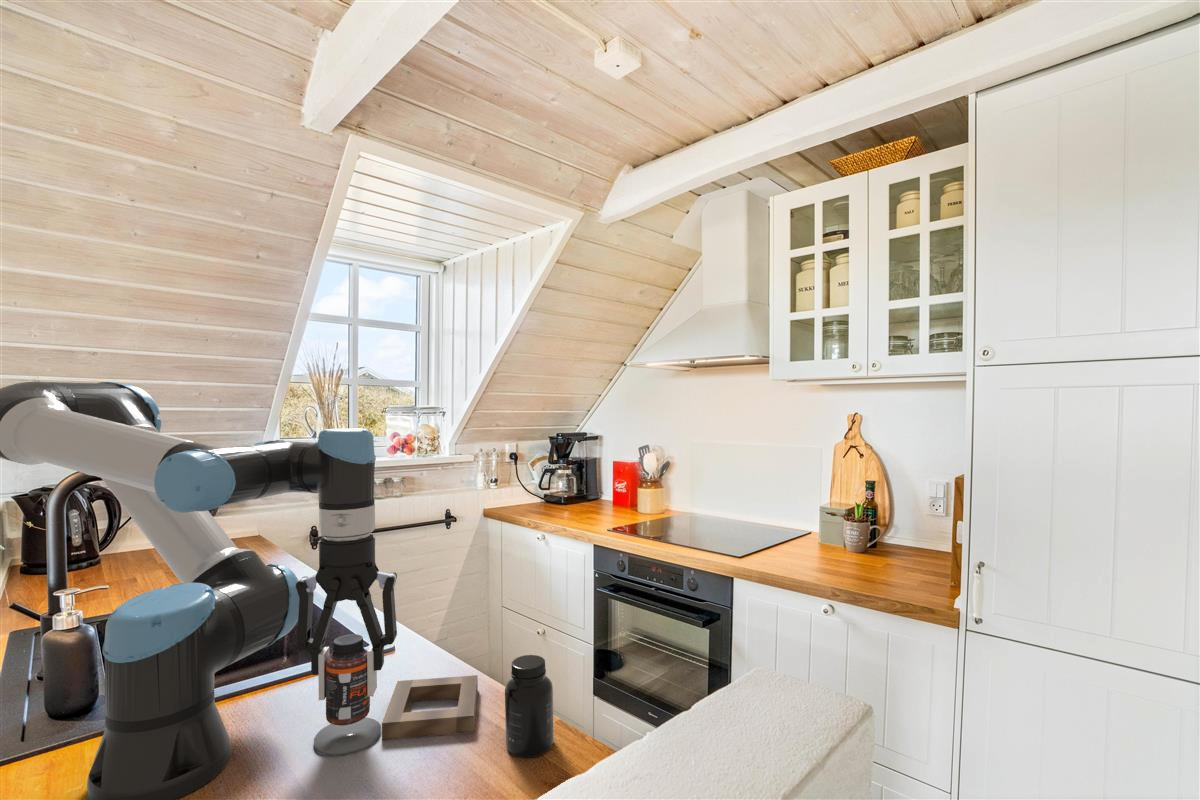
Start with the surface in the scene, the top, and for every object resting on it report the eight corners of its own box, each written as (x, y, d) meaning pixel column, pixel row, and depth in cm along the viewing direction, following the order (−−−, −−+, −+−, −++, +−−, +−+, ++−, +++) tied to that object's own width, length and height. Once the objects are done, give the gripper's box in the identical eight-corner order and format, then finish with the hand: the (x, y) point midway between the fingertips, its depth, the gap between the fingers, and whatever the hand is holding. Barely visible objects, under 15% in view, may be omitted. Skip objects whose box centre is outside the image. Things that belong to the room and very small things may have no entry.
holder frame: (381, 740, 87) (381, 723, 87) (397, 695, 100) (397, 680, 100) (473, 732, 89) (473, 715, 89) (477, 689, 102) (477, 675, 102)
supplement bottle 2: (533, 726, 91) (533, 647, 91) (563, 745, 86) (563, 661, 86) (495, 745, 86) (495, 661, 86) (524, 766, 81) (524, 677, 81)
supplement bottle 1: (354, 729, 84) (353, 649, 84) (316, 725, 85) (316, 645, 85) (378, 708, 90) (377, 632, 90) (342, 704, 91) (342, 629, 91)
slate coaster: (305, 758, 83) (305, 754, 83) (324, 723, 91) (324, 719, 91) (373, 752, 84) (373, 748, 84) (386, 718, 93) (386, 714, 93)
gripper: (267, 543, 82) (268, 712, 82) (411, 538, 85) (411, 701, 85) (287, 531, 90) (288, 686, 90) (418, 526, 93) (419, 676, 93)
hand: (348, 693), depth 88 cm, fingers closed on supplement bottle 1, 6 cm apart
